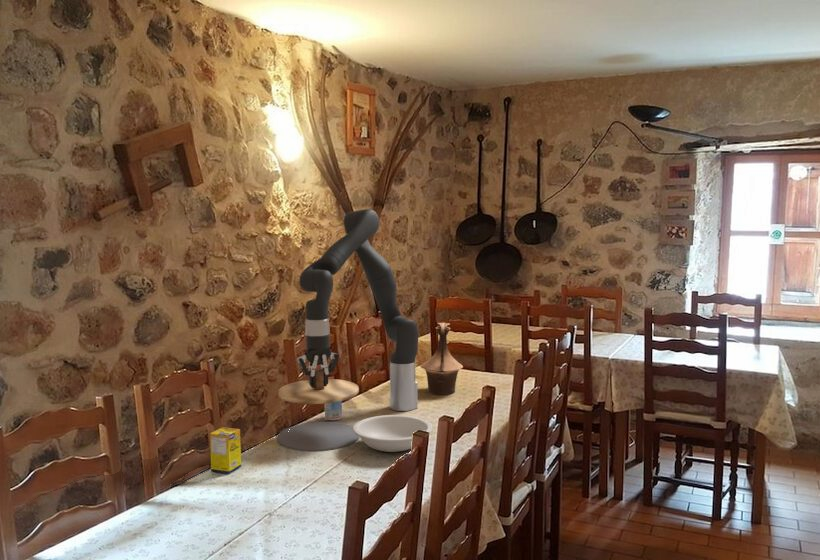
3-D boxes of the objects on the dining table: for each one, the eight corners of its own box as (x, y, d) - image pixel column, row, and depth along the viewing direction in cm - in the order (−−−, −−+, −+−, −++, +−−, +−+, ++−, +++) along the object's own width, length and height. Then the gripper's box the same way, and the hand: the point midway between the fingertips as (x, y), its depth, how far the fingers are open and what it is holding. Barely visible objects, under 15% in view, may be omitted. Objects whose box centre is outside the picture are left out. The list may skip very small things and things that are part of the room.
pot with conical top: (464, 397, 255) (464, 326, 253) (420, 397, 256) (420, 326, 253) (461, 386, 273) (461, 319, 270) (420, 385, 273) (420, 319, 270)
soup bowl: (444, 441, 206) (444, 420, 205) (412, 467, 184) (412, 444, 184) (376, 430, 216) (376, 411, 216) (338, 454, 194) (337, 432, 194)
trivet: (341, 419, 228) (341, 418, 228) (372, 442, 205) (372, 440, 205) (267, 431, 216) (267, 429, 216) (291, 456, 193) (291, 454, 193)
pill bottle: (343, 415, 232) (343, 384, 231) (340, 421, 226) (339, 389, 225) (326, 415, 233) (326, 384, 232) (322, 420, 227) (322, 388, 226)
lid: (341, 379, 226) (340, 358, 225) (371, 396, 204) (371, 373, 203) (269, 388, 214) (268, 366, 213) (292, 408, 192) (292, 384, 191)
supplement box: (241, 466, 185) (240, 428, 184) (229, 474, 179) (228, 435, 178) (223, 464, 187) (222, 426, 186) (210, 471, 181) (209, 433, 180)
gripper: (334, 329, 213) (335, 381, 215) (292, 333, 207) (293, 386, 209) (343, 332, 207) (344, 386, 209) (299, 337, 200) (301, 392, 202)
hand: (318, 386), depth 209 cm, fingers closed on lid, 3 cm apart
